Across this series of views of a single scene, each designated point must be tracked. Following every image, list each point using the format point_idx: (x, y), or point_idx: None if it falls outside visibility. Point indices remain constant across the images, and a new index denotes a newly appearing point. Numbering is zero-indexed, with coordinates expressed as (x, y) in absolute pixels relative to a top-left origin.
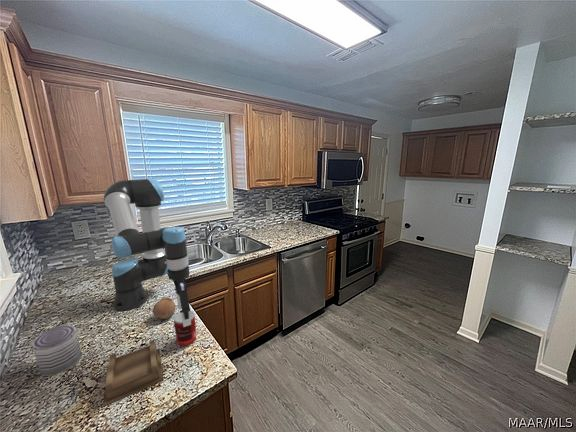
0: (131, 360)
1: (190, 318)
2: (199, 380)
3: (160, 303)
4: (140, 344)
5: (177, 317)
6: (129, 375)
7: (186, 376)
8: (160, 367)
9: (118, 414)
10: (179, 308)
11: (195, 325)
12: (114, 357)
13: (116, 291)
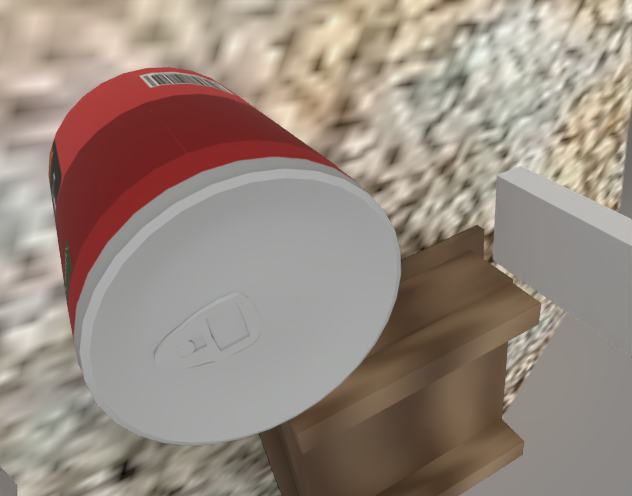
0: (374, 448)
1: (607, 208)
2: (584, 13)
3: None
4: (121, 485)
5: (241, 397)
6: (472, 397)
7: (519, 100)
8: (404, 272)
9: (527, 331)
10: (8, 488)
11: (183, 101)
12: None
13: None
